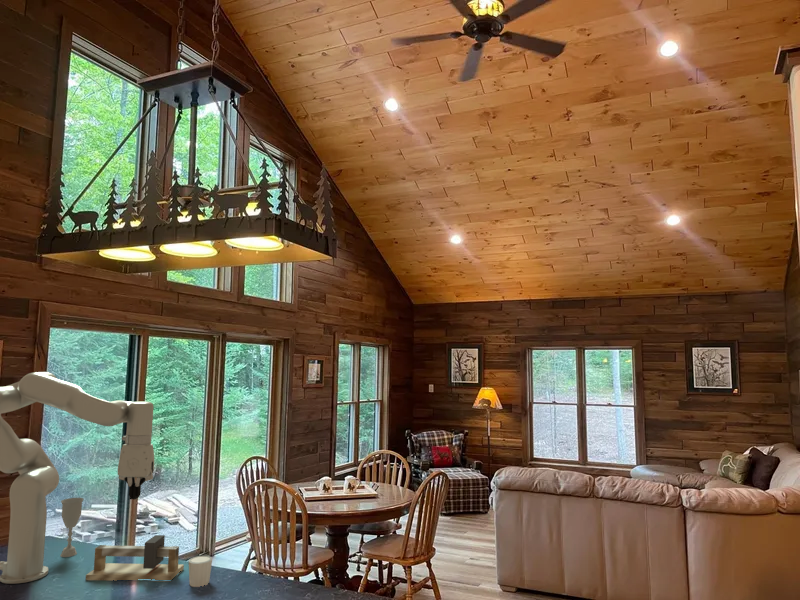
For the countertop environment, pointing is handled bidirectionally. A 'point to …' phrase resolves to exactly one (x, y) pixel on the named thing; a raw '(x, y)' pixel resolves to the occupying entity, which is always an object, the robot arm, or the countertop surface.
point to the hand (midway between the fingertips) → (134, 498)
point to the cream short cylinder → (199, 570)
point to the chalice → (70, 521)
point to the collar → (153, 551)
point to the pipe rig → (133, 570)
